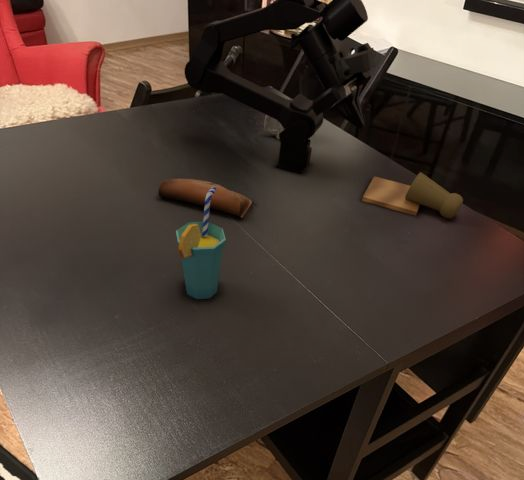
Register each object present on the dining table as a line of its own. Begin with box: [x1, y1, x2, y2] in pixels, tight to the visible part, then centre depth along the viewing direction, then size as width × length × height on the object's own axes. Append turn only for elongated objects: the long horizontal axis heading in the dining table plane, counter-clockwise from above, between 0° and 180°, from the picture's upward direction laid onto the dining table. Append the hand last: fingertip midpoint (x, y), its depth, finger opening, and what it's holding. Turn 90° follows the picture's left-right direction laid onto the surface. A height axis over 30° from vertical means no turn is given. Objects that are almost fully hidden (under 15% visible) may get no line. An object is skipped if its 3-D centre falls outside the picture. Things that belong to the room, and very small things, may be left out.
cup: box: [175, 187, 227, 300], centre depth 75 cm, size 14×8×15 cm, turn 170°
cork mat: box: [361, 176, 421, 217], centre depth 107 cm, size 12×11×1 cm
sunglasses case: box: [157, 178, 253, 219], centre depth 98 cm, size 18×7×7 cm
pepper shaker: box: [405, 171, 464, 219], centre depth 102 cm, size 6×6×11 cm
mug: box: [263, 114, 284, 141], centre depth 122 cm, size 10×7×7 cm, turn 98°
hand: (362, 127), depth 101 cm, fingers closed
